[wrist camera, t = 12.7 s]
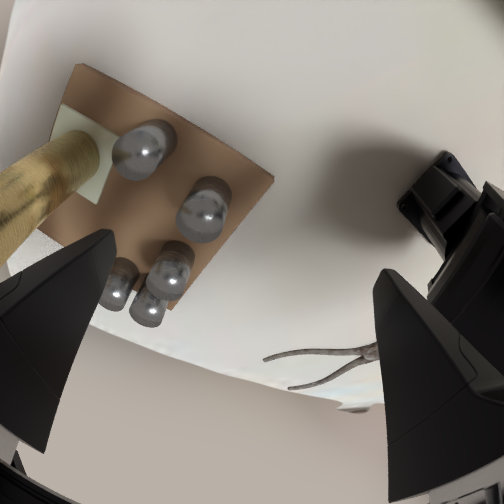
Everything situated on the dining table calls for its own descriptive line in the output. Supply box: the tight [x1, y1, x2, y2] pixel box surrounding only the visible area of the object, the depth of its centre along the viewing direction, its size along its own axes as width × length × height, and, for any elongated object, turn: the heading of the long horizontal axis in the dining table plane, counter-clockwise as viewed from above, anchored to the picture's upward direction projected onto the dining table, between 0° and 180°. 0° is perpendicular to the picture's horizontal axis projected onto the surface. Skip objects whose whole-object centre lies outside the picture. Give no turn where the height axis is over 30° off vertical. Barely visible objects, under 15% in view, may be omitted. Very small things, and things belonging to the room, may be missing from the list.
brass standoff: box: [0, 130, 100, 268], centre depth 15 cm, size 4×4×12 cm
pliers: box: [264, 342, 380, 390], centre depth 33 cm, size 10×1×20 cm
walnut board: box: [37, 64, 274, 310], centre depth 22 cm, size 18×17×1 cm
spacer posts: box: [98, 119, 232, 328], centre depth 22 cm, size 9×16×4 cm, turn 145°
